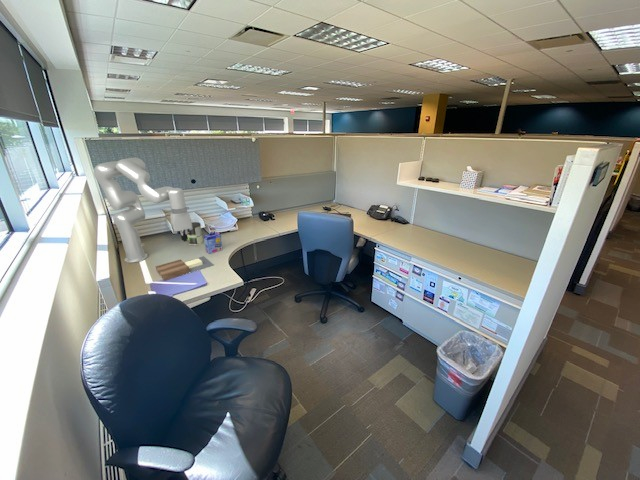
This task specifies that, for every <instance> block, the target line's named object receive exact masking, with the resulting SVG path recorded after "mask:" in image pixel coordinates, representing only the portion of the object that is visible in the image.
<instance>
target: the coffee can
mask: <svg viewBox="0 0 640 480" xmlns="http://www.w3.org/2000/svg"><path fill="white" fill-rule="evenodd" d="M191 222H192V228H193V229H192V230H190V231H189V232H188V234H187V237H188V239H187V245H190V246H198V245H201V244H203V243H204V236H203V233H202V227H201V223H200V222H198V221H197V222H196V221H195V222H194V221H191Z"/></svg>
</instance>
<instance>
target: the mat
mask: <svg viewBox="0 0 640 480" xmlns="http://www.w3.org/2000/svg"><path fill="white" fill-rule="evenodd" d="M198 258H199V259H200V260H201V261H202V263H203V264H202V265H199V266H196V267H193V268H190V272H191V273H194V271H195V272H198V271H201V270H203V269H206V268H209V267H214V266H215V264H213V263H212V262H211V261H210V260H209V259H207V257H205V256H204V255H203V256H200V257H197V258H193V259H190V260H187V261H186V260H185V262H188V261H191V260H194V259H198ZM197 270H198V271H197Z"/></svg>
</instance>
